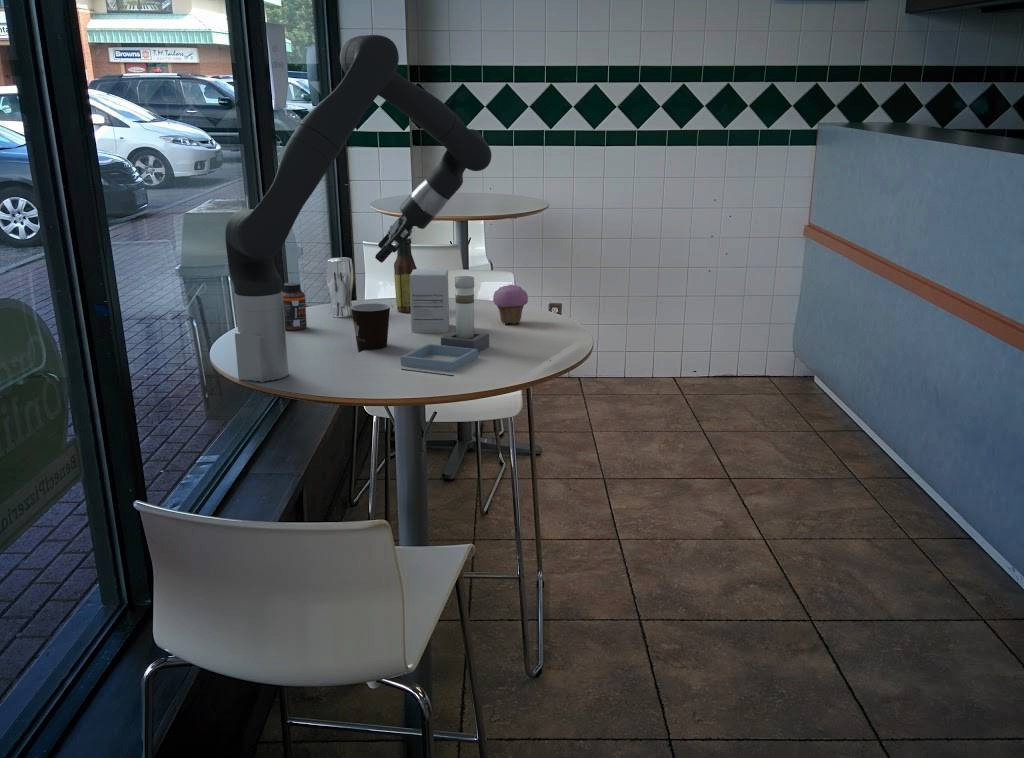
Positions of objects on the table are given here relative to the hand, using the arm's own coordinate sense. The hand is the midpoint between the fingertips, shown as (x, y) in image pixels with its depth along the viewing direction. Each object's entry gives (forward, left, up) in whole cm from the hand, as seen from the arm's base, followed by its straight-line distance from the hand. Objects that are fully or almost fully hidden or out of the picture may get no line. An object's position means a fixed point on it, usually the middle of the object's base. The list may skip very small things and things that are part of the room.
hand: (379, 253), depth 209 cm
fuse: (-7, -25, -19) cm, 32 cm away
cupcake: (+25, -22, -20) cm, 39 cm away
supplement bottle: (-2, +25, -20) cm, 32 cm away
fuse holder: (-7, -25, -20) cm, 33 cm away
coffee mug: (-12, -4, -20) cm, 24 cm away
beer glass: (+17, +23, -20) cm, 35 cm away
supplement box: (+8, -8, -20) cm, 23 cm away
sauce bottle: (+28, +10, -20) cm, 36 cm away
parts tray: (-19, -25, -20) cm, 37 cm away
